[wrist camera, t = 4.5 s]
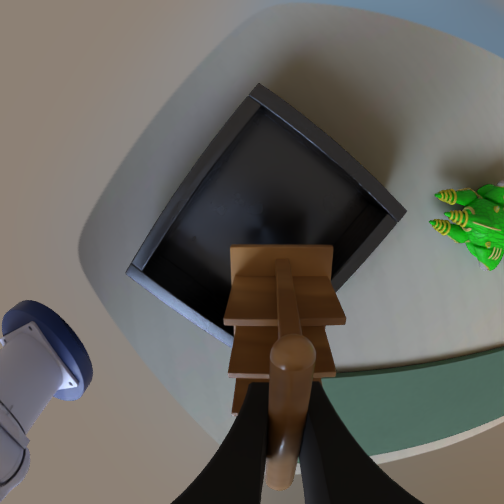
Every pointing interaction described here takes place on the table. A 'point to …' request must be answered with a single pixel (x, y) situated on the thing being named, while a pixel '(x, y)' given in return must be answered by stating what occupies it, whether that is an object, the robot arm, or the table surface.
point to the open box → (260, 209)
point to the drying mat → (418, 400)
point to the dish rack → (281, 338)
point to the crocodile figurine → (476, 222)
